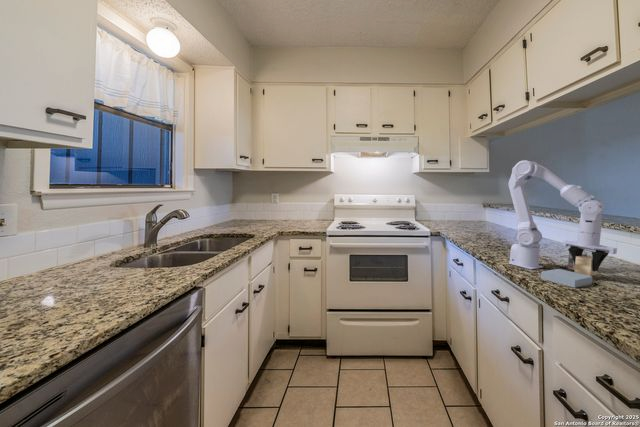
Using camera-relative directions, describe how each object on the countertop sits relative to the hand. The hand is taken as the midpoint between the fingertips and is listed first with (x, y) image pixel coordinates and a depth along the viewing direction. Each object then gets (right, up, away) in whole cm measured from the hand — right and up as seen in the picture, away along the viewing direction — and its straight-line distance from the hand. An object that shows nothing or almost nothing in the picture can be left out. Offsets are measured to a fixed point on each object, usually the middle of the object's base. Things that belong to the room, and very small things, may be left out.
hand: (586, 268), depth 100 cm
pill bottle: (+6, -2, +10) cm, 12 cm away
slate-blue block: (-11, -4, -4) cm, 12 cm away
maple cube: (0, -2, 0) cm, 2 cm away
